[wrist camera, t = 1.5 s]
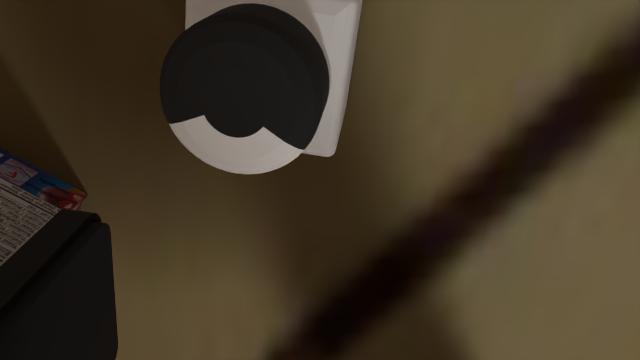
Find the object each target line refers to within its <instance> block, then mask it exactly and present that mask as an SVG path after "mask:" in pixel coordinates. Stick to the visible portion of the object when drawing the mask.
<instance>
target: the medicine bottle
mask: <svg viewBox="0 0 640 360" xmlns="http://www.w3.org/2000/svg"><path fill="white" fill-rule="evenodd" d="M362 1H363V0H186V19H185V31H184V32H183V33H182V34H181V35H180V36H179V37H178V38H177V39H176V40H175V42H174V43H173V45H172V46H171V48H170V49H169V51H168V53H167V55H166V57H165V60H164V63H163V66H162V70H161V77H160V96H161V103H162V107H163V110H164V114H165V116H166V119H167V121H168V123H169V125H170V127H171V129H172V130H173V132H174V134H175V135H176V136H177V138H178V139H179V140H180V142H181V143H182V144H183V145H184V146H185V147H186V148H187V149H188V150H189V151H190V152H191V153H193V154H194V155H195V156H196V157H197V158H199V159H201V160H202V161H204V162H205V163H207V164H209V165H211V166H213V167H215V168H218V169H221V170H224V171H227V172H232V173H237V174H260V173H265V172H270V171H272V170H275V169H278V168H280V167H282V166H284V165H286V164H288V163H290V162H291V161H292V160H294V159H295V158H297V157H298V156H299V155H300V154H301V153H305V154H311V155H317V156H323V157H330V156H332V155H333V154H334V153H335V151H336V148H337V144H338V139H339V135H340V131H341V127H342V123H343V119H344V114H345V110H346V105H347V98H348V92H349V85H350V79H351V72H352V66H353V59H354V53H355V46H356V40H357V33H358V27H359V21H360V14H361V8H362Z"/></svg>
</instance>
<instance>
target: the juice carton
mask: <svg viewBox="0 0 640 360" xmlns="http://www.w3.org/2000/svg"><path fill="white" fill-rule="evenodd" d="M86 196H87V194H86V193H84V192H82V191H81V190H79V189H77V188H75V187H73V186H71V185H69V184H67V183H66V182H64V181H62V180H60V179H58V178H56V177H54V176H52V175H50V174H49V173H47V172H45V171H43V170H41V169H39V168H37V167H35V166H33V165H32V164H30V163H28V162H26V161H24V160H22V159H20V158H18V157H16V156H15V155H13V154H11V153H9V152H7V151H5V150H3V149H1V148H0V266H1V265H2V264H3V263H4V262H5V261H6V260H7V259H9V258H10V257H11V256H12V255H13V254H14V253H15V252H16V251H17V250H18V249H19V248H20V247H21V246H22V245H23V244H25V243H26V242H27V241H28V240H29V239H30V238H31V237H32V236H33V235H34V234H35V233H36V232H37V231H38V230H39V229H41V228H42V227H43V226H44V225H45V224H46V223H47V222H48V221H49V220H50V219H51V218H52V217H53V216H54V215H55V214H57V213H58V212H59V211H60V210H62V209H69V210H76V211H80V210H81V208H82V205H83V203H84V201H85V198H86Z"/></svg>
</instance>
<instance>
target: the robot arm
mask: <svg viewBox="0 0 640 360" xmlns="http://www.w3.org/2000/svg"><path fill="white" fill-rule="evenodd" d="M117 349H118V337H117V322H116V307H115V292H114V277H113V262H112V247H111V232H110V227H109V225H108V224H106V223H101V219H100V217H99V215H98V214H96V213H90V212H83V211H76V210H69V209H62V210H60V211H59V212H58V213H57V214H55V215H54V216H53V217H52V218H51V219H50V220H49V221H48V222H47V223H46V224H45V225H44V226H43V227H42V228H41V229H39V230H38V231H37V232H36V233H35V234H34V235H33V236H32V237H31V238H30V239H29V240H28V241H27V242H26V243H25V244H23V245H22V246H21V247H20V248H19V249H18V250H17V251H16V252H15V253H14V254H13V255H12V256H11V257H10V258H9V259H7V260H6V261H5V262H4V263H3V264H2V265H1V266H0V360H115V358H116V355H117Z"/></svg>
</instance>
